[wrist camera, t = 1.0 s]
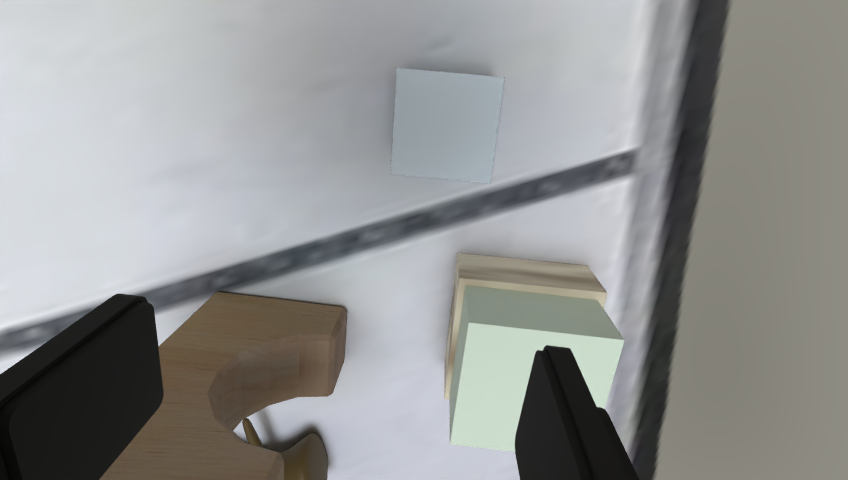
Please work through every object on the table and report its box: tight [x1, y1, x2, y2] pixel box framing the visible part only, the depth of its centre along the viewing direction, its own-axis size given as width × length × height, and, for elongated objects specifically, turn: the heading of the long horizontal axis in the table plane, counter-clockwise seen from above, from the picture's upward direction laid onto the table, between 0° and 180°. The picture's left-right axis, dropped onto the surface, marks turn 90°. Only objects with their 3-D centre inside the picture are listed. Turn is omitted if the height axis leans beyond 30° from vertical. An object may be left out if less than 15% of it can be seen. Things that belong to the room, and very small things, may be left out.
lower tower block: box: [444, 253, 607, 399], centre depth 35 cm, size 10×10×5 cm
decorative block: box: [99, 292, 347, 480], centre depth 29 cm, size 11×6×20 cm, turn 82°
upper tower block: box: [450, 285, 624, 452], centre depth 30 cm, size 9×9×5 cm
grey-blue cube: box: [391, 68, 505, 183], centre depth 29 cm, size 6×6×6 cm
